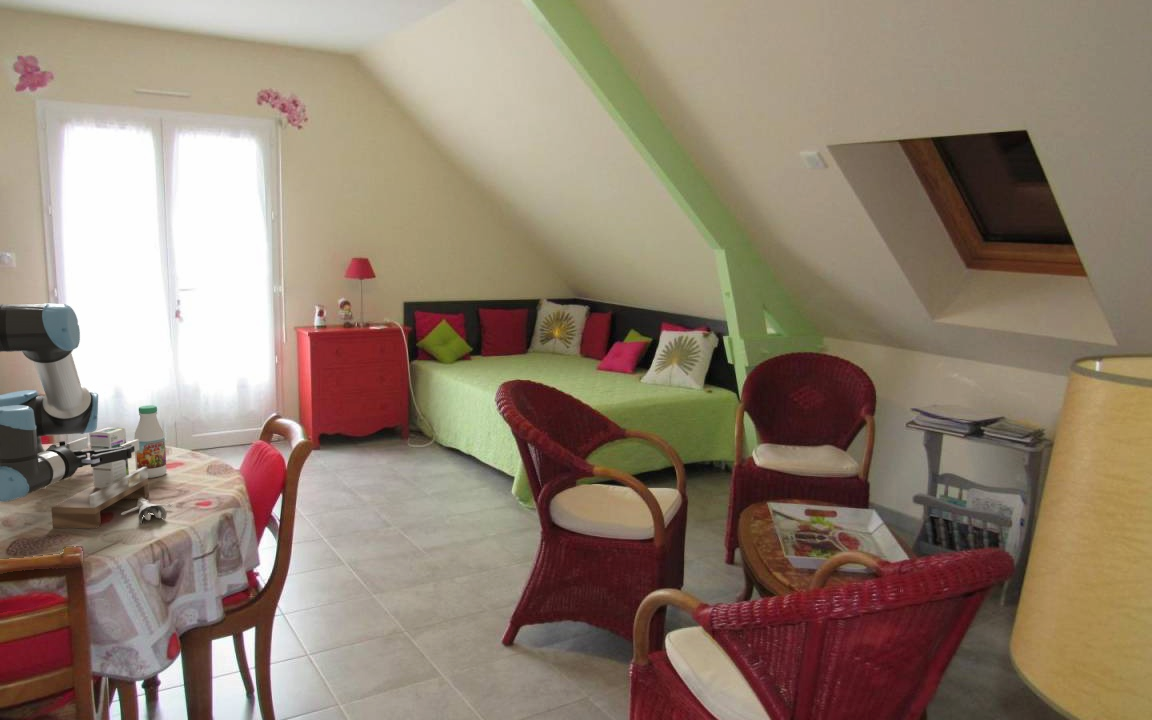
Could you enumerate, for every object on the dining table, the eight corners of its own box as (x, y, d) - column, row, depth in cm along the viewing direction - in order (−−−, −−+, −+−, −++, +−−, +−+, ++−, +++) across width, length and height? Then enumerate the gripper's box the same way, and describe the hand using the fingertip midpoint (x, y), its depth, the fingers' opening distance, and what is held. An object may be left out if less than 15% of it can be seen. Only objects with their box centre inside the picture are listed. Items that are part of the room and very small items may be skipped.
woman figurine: (126, 512, 186) (114, 497, 200) (127, 531, 186) (115, 514, 201) (181, 503, 193) (166, 489, 207) (182, 521, 193) (167, 506, 208)
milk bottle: (130, 476, 228) (125, 407, 225) (153, 469, 235) (149, 402, 232) (149, 480, 225) (145, 410, 222) (172, 473, 232) (169, 405, 229)
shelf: (110, 495, 211) (108, 466, 210) (150, 496, 211) (148, 466, 210) (52, 527, 187) (50, 494, 186) (97, 528, 187) (95, 495, 186)
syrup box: (113, 489, 200) (110, 433, 198) (92, 488, 201) (88, 431, 199) (129, 483, 206) (126, 427, 203) (109, 481, 206) (105, 426, 204)
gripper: (0, 480, 183) (66, 456, 204) (105, 484, 181) (160, 459, 202) (-3, 448, 182) (63, 427, 203) (102, 452, 180) (158, 430, 201)
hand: (112, 443), depth 202 cm, fingers open, 13 cm apart
